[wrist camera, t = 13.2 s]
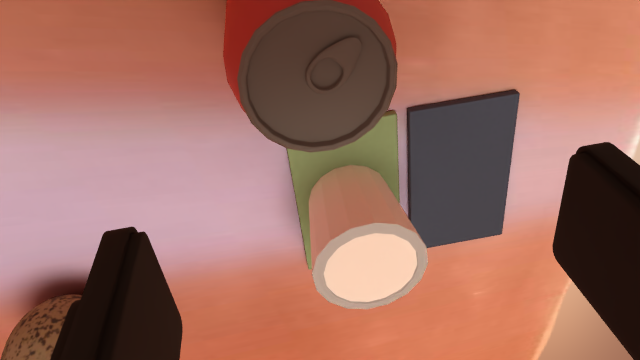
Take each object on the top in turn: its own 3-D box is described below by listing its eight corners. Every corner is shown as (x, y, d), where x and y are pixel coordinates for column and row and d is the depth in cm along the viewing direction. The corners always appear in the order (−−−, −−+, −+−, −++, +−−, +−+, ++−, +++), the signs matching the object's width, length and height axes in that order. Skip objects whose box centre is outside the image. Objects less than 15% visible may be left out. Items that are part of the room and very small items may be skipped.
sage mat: (283, 128, 31) (284, 133, 31) (394, 109, 32) (397, 114, 31) (307, 264, 38) (308, 269, 38) (399, 247, 39) (401, 253, 38)
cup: (322, 144, 32) (342, 211, 26) (414, 172, 34) (450, 239, 28) (285, 225, 35) (294, 300, 29) (370, 245, 37) (395, 319, 32)
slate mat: (406, 107, 32) (409, 111, 31) (515, 89, 32) (520, 93, 32) (409, 245, 39) (411, 251, 38) (498, 229, 39) (501, 234, 39)
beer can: (373, -12, 27) (450, 71, 18) (295, 76, 30) (324, 193, 20) (281, -104, 24) (312, -66, 14) (202, 2, 26) (181, 97, 17)
